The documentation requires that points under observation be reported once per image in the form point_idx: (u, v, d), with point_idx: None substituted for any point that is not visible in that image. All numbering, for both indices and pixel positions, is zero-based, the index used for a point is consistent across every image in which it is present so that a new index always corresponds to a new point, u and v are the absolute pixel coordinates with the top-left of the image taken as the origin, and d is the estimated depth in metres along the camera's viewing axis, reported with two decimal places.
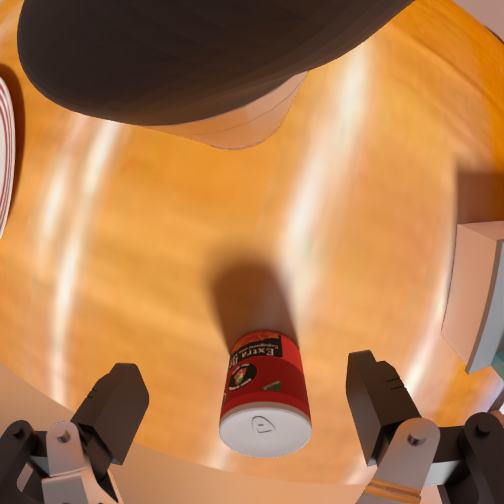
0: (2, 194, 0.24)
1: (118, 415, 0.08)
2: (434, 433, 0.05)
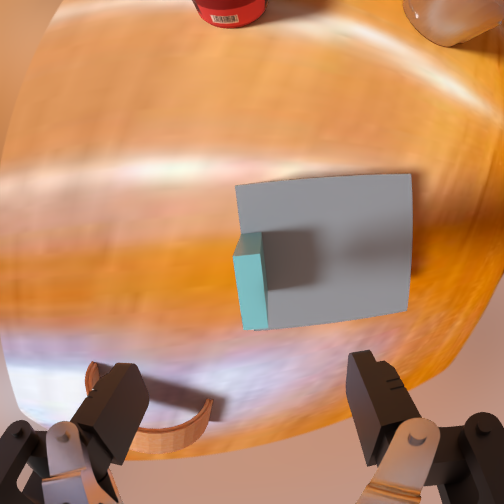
0: None
1: (118, 415, 0.08)
2: (434, 433, 0.05)
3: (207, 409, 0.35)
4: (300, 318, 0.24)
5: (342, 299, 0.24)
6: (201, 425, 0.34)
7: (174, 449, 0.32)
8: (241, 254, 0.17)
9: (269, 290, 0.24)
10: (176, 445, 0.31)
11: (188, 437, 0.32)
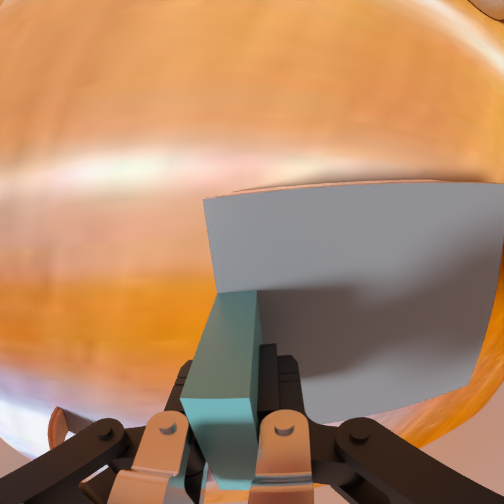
0: None
1: None
2: (301, 428, 0.06)
3: None
4: (319, 415, 0.13)
5: (387, 386, 0.13)
6: None
7: None
8: (201, 392, 0.06)
9: None
10: None
11: None
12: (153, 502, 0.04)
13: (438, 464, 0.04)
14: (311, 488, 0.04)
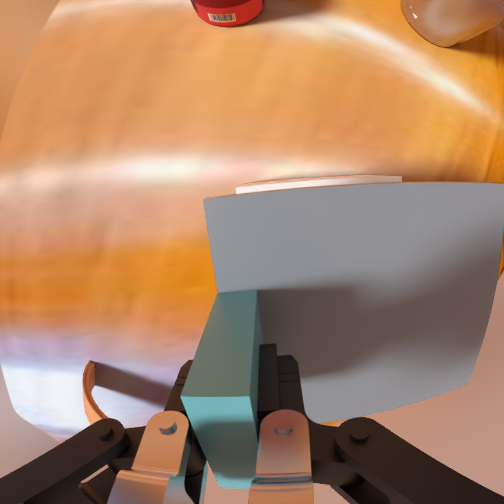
0: None
1: None
2: (301, 428, 0.06)
3: None
4: (319, 414, 0.13)
5: (387, 386, 0.13)
6: None
7: None
8: (202, 390, 0.06)
9: None
10: None
11: None
12: (153, 502, 0.04)
13: (438, 465, 0.04)
14: (311, 488, 0.04)
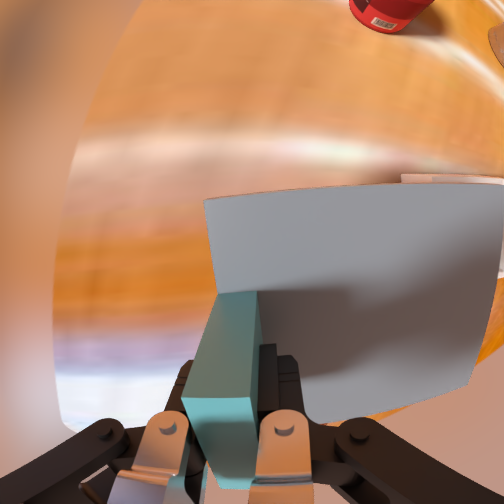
0: None
1: None
2: (301, 428, 0.06)
3: None
4: (318, 415, 0.13)
5: (387, 386, 0.13)
6: None
7: None
8: (202, 391, 0.06)
9: None
10: None
11: None
12: (153, 502, 0.04)
13: (438, 464, 0.04)
14: (311, 488, 0.04)
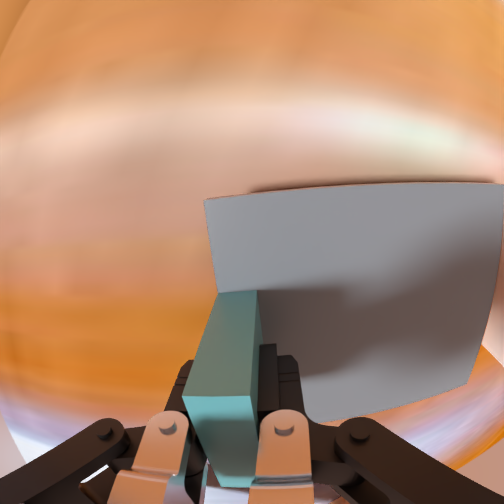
0: None
1: None
2: (301, 428, 0.06)
3: None
4: (318, 414, 0.14)
5: (386, 385, 0.13)
6: None
7: None
8: (203, 390, 0.06)
9: None
10: None
11: None
12: (153, 502, 0.04)
13: (438, 464, 0.04)
14: (311, 488, 0.04)
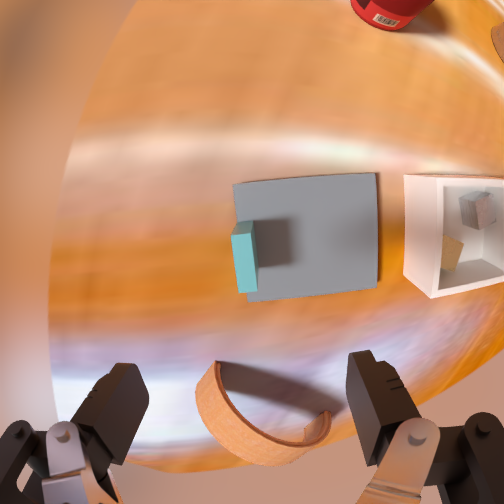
0: None
1: (118, 415, 0.08)
2: (434, 433, 0.05)
3: (329, 421, 0.36)
4: (285, 291, 0.30)
5: (319, 275, 0.30)
6: None
7: None
8: (237, 234, 0.23)
9: (260, 267, 0.30)
10: (300, 456, 0.31)
11: None
12: (78, 494, 0.03)
13: None
14: None
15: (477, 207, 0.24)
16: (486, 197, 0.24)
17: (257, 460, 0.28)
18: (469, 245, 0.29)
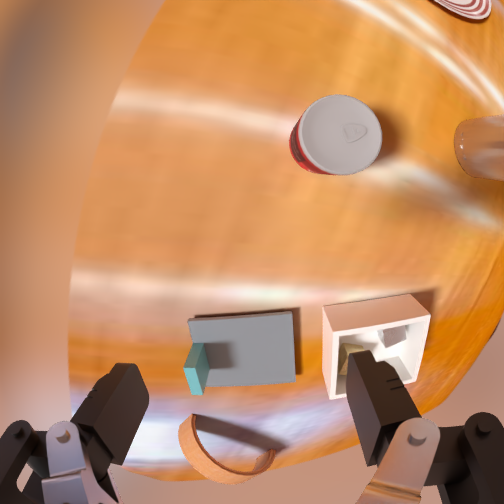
0: None
1: (118, 415, 0.08)
2: (434, 433, 0.05)
3: (273, 457, 0.47)
4: (229, 382, 0.42)
5: (251, 375, 0.41)
6: None
7: None
8: (187, 367, 0.34)
9: (210, 369, 0.41)
10: None
11: None
12: (78, 494, 0.03)
13: None
14: None
15: (384, 333, 0.36)
16: None
17: (218, 480, 0.40)
18: (385, 348, 0.40)
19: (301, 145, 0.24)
